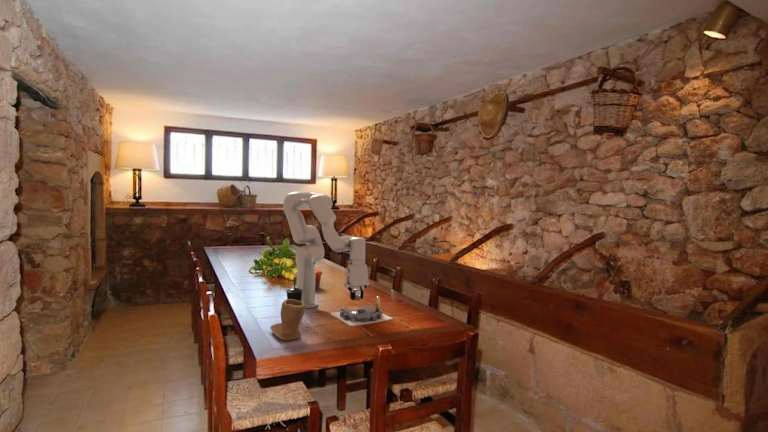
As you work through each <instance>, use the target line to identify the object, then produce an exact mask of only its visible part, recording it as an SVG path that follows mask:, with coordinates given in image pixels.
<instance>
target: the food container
mask: <svg viewBox="0 0 768 432" xmlns="http://www.w3.org/2000/svg"><path fill="white" fill-rule="evenodd" d="M295 274H296V275H297V271H296V272H295ZM322 275H323V272H322V271H321V270H320V269H318V268H317V269H316V268H315V291H316V290H318V289H320V284H321V278H322Z"/></svg>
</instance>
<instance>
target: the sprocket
mask: <svg viewBox="0 0 768 432" xmlns="http://www.w3.org/2000/svg"><path fill="white" fill-rule="evenodd" d="M339 312H340V316H343V319H350V320H351V321H362V322H367V321H369V320H372V321H375V320H377V318H380V319H381V318H382V315H383V314H384V312H383V310H382V309H381V296H379V295H376V296H375V307H372V306H370V305H366V306H365V305H356V306H351V305H350V306H346V307H342V308H341V309H340V311H339Z"/></svg>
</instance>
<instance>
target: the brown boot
mask: <svg viewBox="0 0 768 432" xmlns="http://www.w3.org/2000/svg"><path fill="white" fill-rule="evenodd" d="M305 310H306V308H305V304H304V303H303V302H301V301H297V300H293V299H287V298H286V299H285V300H283V301H282V303H281V308H280V318H281V319H280V320H281V322H280V323H275V324H272V325H270V330H271V331H272V333H273V334H274V335H275V336H276V337H277V338H278V339H280V340H282V341H283V340H284V341H290V340H297V339H299V338H301V336H302V334H301V332H300V331H299V326H300V325H301V322H302V319H303V317H304V314H305V313H306V312H305Z"/></svg>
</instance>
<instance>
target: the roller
mask: <svg viewBox="0 0 768 432" xmlns="http://www.w3.org/2000/svg"><path fill="white" fill-rule="evenodd" d="M354 292H355V300H354V301H361V300H362V299H361V289H360V288H354Z"/></svg>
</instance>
